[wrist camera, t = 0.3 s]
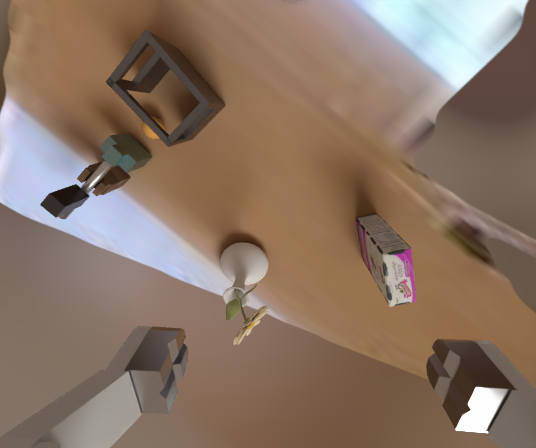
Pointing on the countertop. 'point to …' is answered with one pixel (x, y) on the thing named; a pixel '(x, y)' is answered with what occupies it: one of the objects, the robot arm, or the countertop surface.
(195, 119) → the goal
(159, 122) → the ball
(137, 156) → the rod
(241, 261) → the flower in vase
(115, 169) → the rod cradle
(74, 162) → the countertop surface
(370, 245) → the candy bar box
